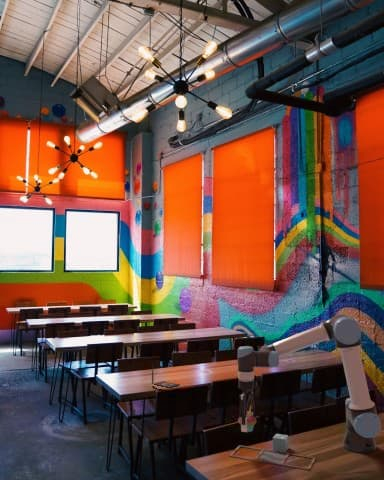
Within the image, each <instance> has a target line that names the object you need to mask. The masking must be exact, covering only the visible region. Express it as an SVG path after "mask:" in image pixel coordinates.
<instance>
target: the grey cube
mask: <svg viewBox="0 0 384 480" xmlns="http://www.w3.org/2000/svg"><path fill="white" fill-rule="evenodd" d="M288 449H289V435H288V434H281V433H275V434H274V436H273V437H272V451H278V452H284V453H287V451H288Z"/></svg>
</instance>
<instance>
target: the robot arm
mask: <svg viewBox="0 0 384 480" xmlns="http://www.w3.org/2000/svg"><path fill="white" fill-rule="evenodd" d="M361 336H362V330H361V326H360V324H359V322H357V321H356V320H355V319H354V318H353V317H349V316H348V315H345V314H338V315H335V316H333V317H331V318H329V319H327V320H325V321H322V322H320V323H319V325H317V326H315V327H313V328H312V327H311V328H308V329H307V330H304V331H301V332H299V333H296V334H293V335H291V336H289V337H287V338H283V339H281V340H278V341H276V342H273V343H270V344H269V345H267V344H266V345H262V346H261V347H260V348H259V349H258V350H254V347H253V346H249V345H245V346H244V345H243V346H239V347H238V349H237V372H236V374H237V375H238V377H237V378H238V382H237V383H238V384H237V386H238V389H240V390H241V393H240V394H239V395H238V396H239V404H238V405H239V406H238V407H239V409H238V410H239V411H238V418H240V417H241V424H240V430H241V433H243V432H244V433H248V432H247V417H246V415H247V414H249V410H250V406H251V413H250V415H252V416H254V412H255V411H256V410H255V409H256V408H255V399H254V398H255V397H254V389H255V380H254V379H255V371H254V369H255V368H270V369H271V368H272V369H273V368H279V366H280V358H282V357H284V356H287V355H289V354H292V353H295V352H298V351H301V350H303V349H306V348H308V347H311V346H314V345H316V344H318V343H321V342H324V341H328V342H330V341H333V340H334V343H335V348H336V349H337V350H339V351H340V352H339V353H340V356H341V361H342V364H343V365H342V366H343V370H344V374H345V378H346V379H345V380H346V385H347V388H348V389H347V390H348V393H349V397H348V398H346V399H345V426H346V430H345V433H344V436H343V440H342V446H343V447H344V448H345V449H347V450H348V451H351V452H354V453H363V454H366V453H367V454H368V453H373V452H376V450H377V443H376V440H375V437H376V436H377V435H378V434H379V433H380V432H381V429H382V423H381V419H380V417H379V416H378V412H377V408H376V404H375V402H374V401H372V400H371V396H370V393H369V392H370V391H369V388H368V387H369V386H368V383H367V377H366V373H365V368H364V365H363V359H362V355H361V350H360V347H361V346H362V338H361Z"/></svg>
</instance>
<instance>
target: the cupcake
mask: <svg viewBox="0 0 384 480" xmlns="http://www.w3.org/2000/svg"><path fill="white" fill-rule="evenodd" d="M250 413H251V406H250V410H249V414H246V417H247V432H246V433H250V432H251V433H252V432H253V431H254V428H255V427H254V426H255V425H256V423H257V418H256V417H255V416H254V415H253V416H252V415H250ZM237 422H238V424H239V425H241V417H238V420H237Z"/></svg>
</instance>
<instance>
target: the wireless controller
mask: <svg viewBox="0 0 384 480" xmlns="http://www.w3.org/2000/svg"><path fill="white" fill-rule="evenodd" d="M151 370H152V372H151V385H152V384H153V383H154V377H155V375H154V364H152V368H151ZM154 385H157V386H161V387H166V388H173V387H177V386H180V383H173V382H169V381H165V380H161V381H158V382H155V383H154Z"/></svg>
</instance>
